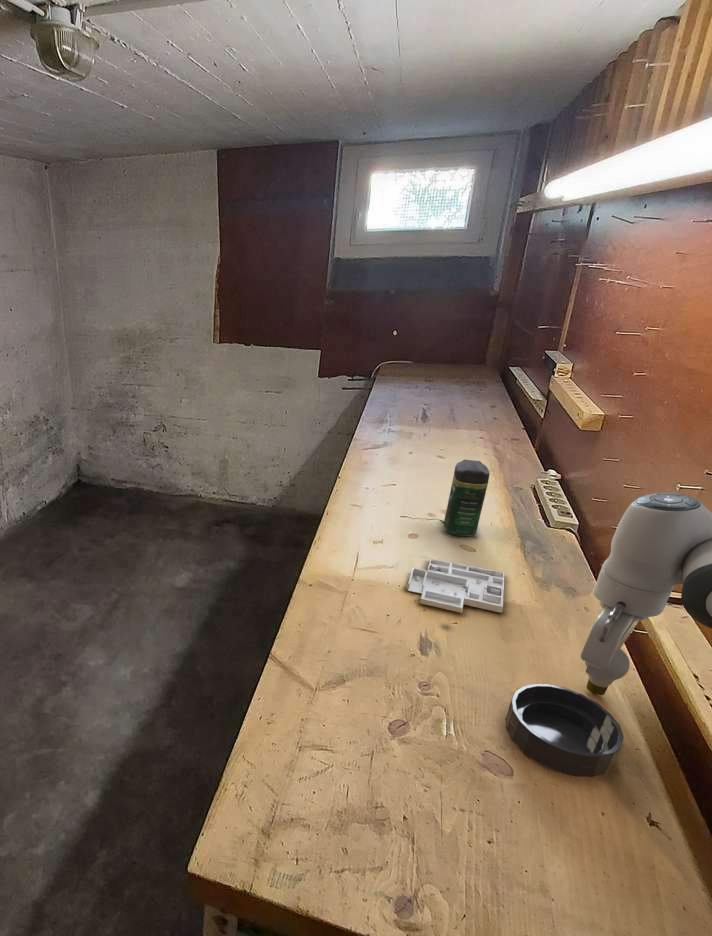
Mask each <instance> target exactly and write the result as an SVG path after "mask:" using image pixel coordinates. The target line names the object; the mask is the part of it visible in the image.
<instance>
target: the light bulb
mask: <svg viewBox="0 0 712 936" xmlns="http://www.w3.org/2000/svg"><path fill="white" fill-rule="evenodd" d="M584 663H585V664H584V665H585V667H587V666H588V662H586V661H584ZM630 666H631V665H630V659H629V657H628V655H627V654H626V652H625V651H624V650H623V649H621V648H620V650H619V651H618V653H617V654H616V656H615V657H614V659H613V660H612V662H611V663H610V665H609V666H608V667H607V668H606V669H602V672H601V674H600V675H599V677H593V676H591V675H589V674H587V675H588V679H587V684H586V689H587V691H588V692H590V693H591V694H592V695H595V696H604V695H606V692H607V690H608V688H609V686H611V685H613V683H614V682H616V681H617V680H619V679H622V678H623V677H625V676H626V675H627V673H629V672H628V671H629V670H630Z"/></svg>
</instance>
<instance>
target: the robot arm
mask: <svg viewBox="0 0 712 936" xmlns="http://www.w3.org/2000/svg"><path fill="white" fill-rule="evenodd" d="M675 585H682V587H681V594H680V595H681V596H680V598H681V599H680V601H681V604H682V606H683V609H684V610H685V612H686V613H687V614H688V615H689V616H690V617H691V618H692V619H693V620H695V621H696V622H698V623H699V624H701V625H702V626H705V627H707V628H708V629H711V630H712V511H710V510H709V509H708V508H706V506H705V505H704V504H703V503H702V502H701V501H700V500H698V499H697V498H694V497H692V496H689V495H685V494H682V493H673V492H655V493H649V494H645V495H642V496H640V497H637V498H636V499H635V500H633V501H632V502H631V503H630V504H629V505H628V507H627V508H626V509H625V511H624V513H623V515H622V516H621V519H620V521H619V523H618V525H617V527H616V530H615V532H614V533H613V537H612V539H611V543H610V554H609V556H608V557H607V558H606V559H605V560H604V562H603V563H602V565H601V568H600V571H599V573H598V576H597V579H596V582H595V583H594V586H593V589H592V591H593V595H594V597H595V598H596V599H597V600H598V603H599V606H600V607H601V608H602V609H603V610H602V611H601V613H599V615H598V616H597V618H596V619H595V621H594V623H593V625H591V628H590V631H589V632H588V635H587V638H586V639H585V642H584V645H583V646H582V649H581V651H580V659H581V660H582V661H583V662H585V661H586V662H588V666H586V669H585V673H586V674H587V675H588V674H589V675H591V676H593V677H599V675H600V674H601V672H602V669H606V668H607V667H608V666H609V665H610V663H611V662H612V660H613V659H614V657H615V656H616V654H617V653H618V651H619V650H620V649H621V648H622V647H623V646H624V644H625V642H626V641H627V640H628V639H629V637H630V635H631V634H632V632H633V631H634V629H635V627H636V626H637V625H638V623H639V622H641V621H645V620H647V619H648V618H653V617H657V616H659V615H661V614H662V613H663V612H664V610H665V608H666V605H667V603H668V601H669V599H670V596H671V594H672V591H673V590H674V588H675Z"/></svg>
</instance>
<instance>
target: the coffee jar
mask: <svg viewBox="0 0 712 936" xmlns="http://www.w3.org/2000/svg"><path fill="white" fill-rule="evenodd" d="M490 476H491V475H490V470H489V467H488V466H487V465H485V464H484V463H483V462H482V461H480V460H472V459H463V460H461V461H459V462H457V463H456V465H455V466H454V471H453V477H452V481H451V487H450V492H449V495H448V499H447V501H448V502H447V505H446V512H445V516H444V520H443V526H444V529H445V531H446V532H447V533H450V534H452V535H456V536H460V537H471V536H474V535H476V534H477V531H478V528H479V523H480V519H481V514H482V510H483V507H484V502H485V498H486V493H487V489H488V485H489V480H490Z"/></svg>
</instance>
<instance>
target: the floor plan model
mask: <svg viewBox="0 0 712 936" xmlns="http://www.w3.org/2000/svg"><path fill="white" fill-rule="evenodd" d="M406 591H409V592H413V593H418V594H421V596H420V602H419V603H420V604H421V605H425V606H430V607H434V608H438V609H443V610H447V611H452V612H456V613H460V614H462V613H463V610H464V609H463V608H464V605H465V606H470V607H473V608H477V609H482V610H487V611H492V612H496V613H500V614H502V613H503V610H504V592H505V571H504V572H503V571H498V570H493V569H488V568H483V567H479V566H478V567H477V566H475V565H474V566H473V565H469V564H459V563H454V562H450V561H446V560H445V561H444V560H439V559H435V558H430V559H429V563H428V568H427V569H423V568H419V567H418V568H417V567H412V569H411V571H410V575H409V579H408V582H407V588H406Z"/></svg>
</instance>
